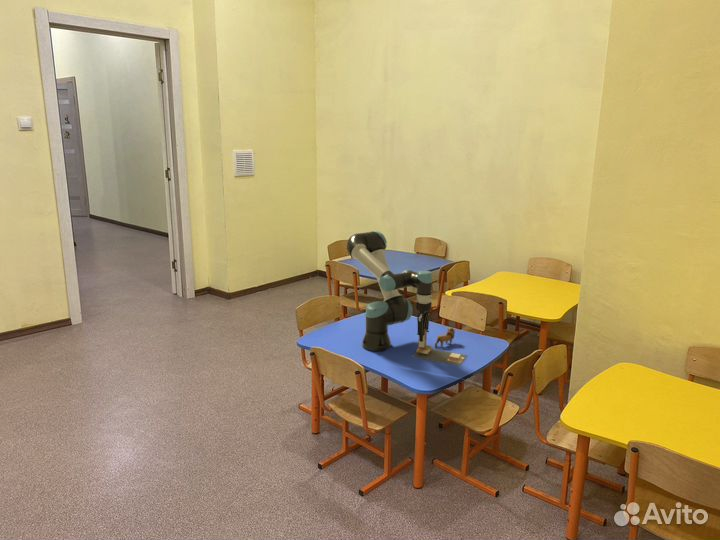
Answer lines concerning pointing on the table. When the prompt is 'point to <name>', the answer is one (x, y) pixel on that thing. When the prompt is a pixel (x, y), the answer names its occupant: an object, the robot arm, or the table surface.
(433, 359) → the taupe mat
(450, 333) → the lion figurine
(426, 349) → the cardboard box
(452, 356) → the cream square tile
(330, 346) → the table surface
